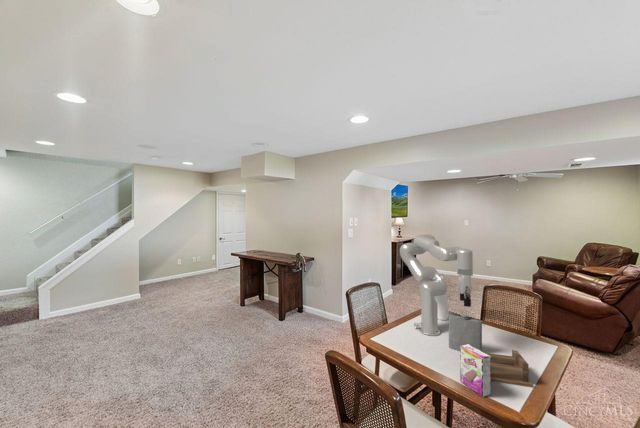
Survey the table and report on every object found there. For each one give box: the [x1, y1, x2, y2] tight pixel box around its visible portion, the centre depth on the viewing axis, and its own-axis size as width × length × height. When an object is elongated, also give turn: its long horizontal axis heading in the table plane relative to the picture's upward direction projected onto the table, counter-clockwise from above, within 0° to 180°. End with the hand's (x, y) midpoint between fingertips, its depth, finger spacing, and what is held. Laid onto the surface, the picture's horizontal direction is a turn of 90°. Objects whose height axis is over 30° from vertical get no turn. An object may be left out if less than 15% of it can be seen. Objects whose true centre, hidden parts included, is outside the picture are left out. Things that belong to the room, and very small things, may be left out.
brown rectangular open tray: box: [484, 349, 534, 388], centre depth 125 cm, size 15×24×9 cm, turn 73°
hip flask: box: [448, 313, 483, 352], centre depth 145 cm, size 16×4×20 cm, turn 60°
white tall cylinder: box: [435, 275, 449, 321], centre depth 190 cm, size 10×10×30 cm
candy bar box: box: [459, 344, 492, 398], centre depth 114 cm, size 11×5×16 cm, turn 21°
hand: (465, 303), depth 145 cm, fingers open, 9 cm apart
